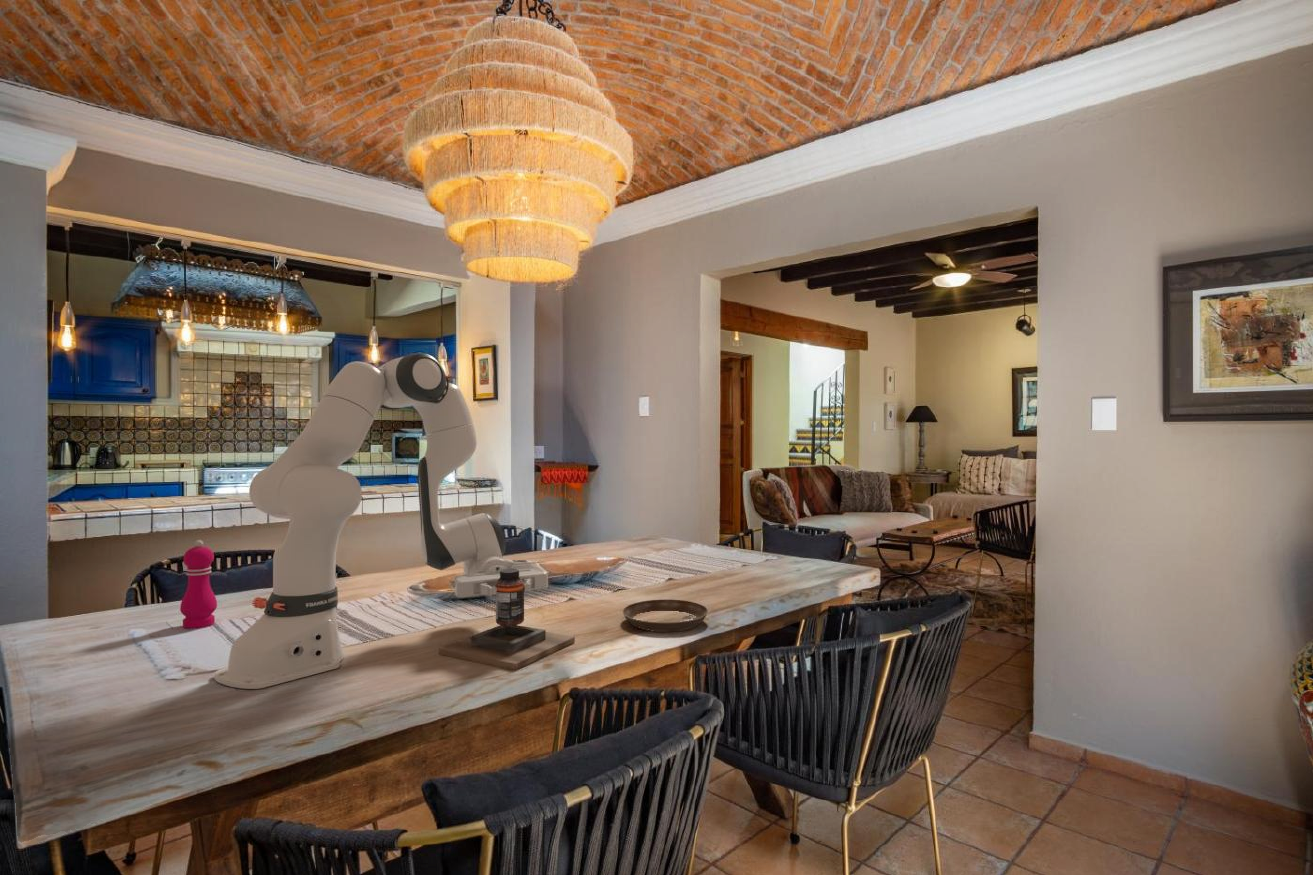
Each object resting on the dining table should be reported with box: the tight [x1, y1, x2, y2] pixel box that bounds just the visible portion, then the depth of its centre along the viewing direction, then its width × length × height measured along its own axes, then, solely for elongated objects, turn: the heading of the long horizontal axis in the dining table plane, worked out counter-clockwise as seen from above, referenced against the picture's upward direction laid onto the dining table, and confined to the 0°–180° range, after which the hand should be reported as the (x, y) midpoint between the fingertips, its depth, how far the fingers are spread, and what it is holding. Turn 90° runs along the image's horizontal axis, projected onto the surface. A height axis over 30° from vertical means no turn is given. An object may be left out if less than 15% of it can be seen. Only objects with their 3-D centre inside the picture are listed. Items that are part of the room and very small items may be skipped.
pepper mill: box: [179, 539, 218, 629], centre depth 163 cm, size 7×7×20 cm
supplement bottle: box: [495, 568, 525, 626], centre depth 147 cm, size 6×6×11 cm
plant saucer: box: [622, 599, 709, 633], centre depth 168 cm, size 21×21×3 cm
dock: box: [438, 624, 576, 671], centre depth 147 cm, size 20×20×3 cm
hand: (510, 590), depth 147 cm, fingers closed on supplement bottle, 6 cm apart
